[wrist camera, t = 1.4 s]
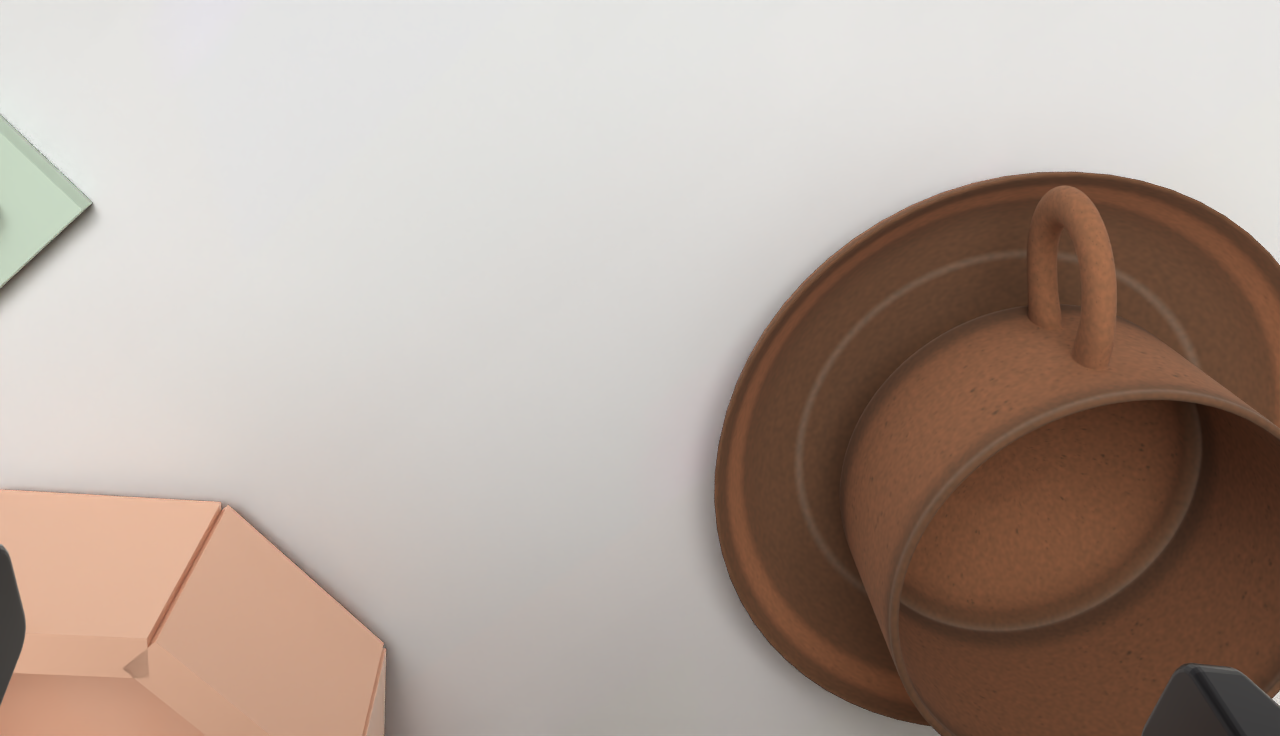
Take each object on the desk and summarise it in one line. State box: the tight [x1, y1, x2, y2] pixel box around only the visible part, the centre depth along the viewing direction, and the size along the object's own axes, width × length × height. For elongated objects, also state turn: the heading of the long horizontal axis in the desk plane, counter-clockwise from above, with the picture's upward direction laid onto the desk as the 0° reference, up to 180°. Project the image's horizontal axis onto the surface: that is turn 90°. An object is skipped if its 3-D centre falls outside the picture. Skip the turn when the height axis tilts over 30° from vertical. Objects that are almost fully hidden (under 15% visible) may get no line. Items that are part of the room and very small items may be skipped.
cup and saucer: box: [714, 172, 1280, 736], centre depth 22 cm, size 12×12×6 cm
